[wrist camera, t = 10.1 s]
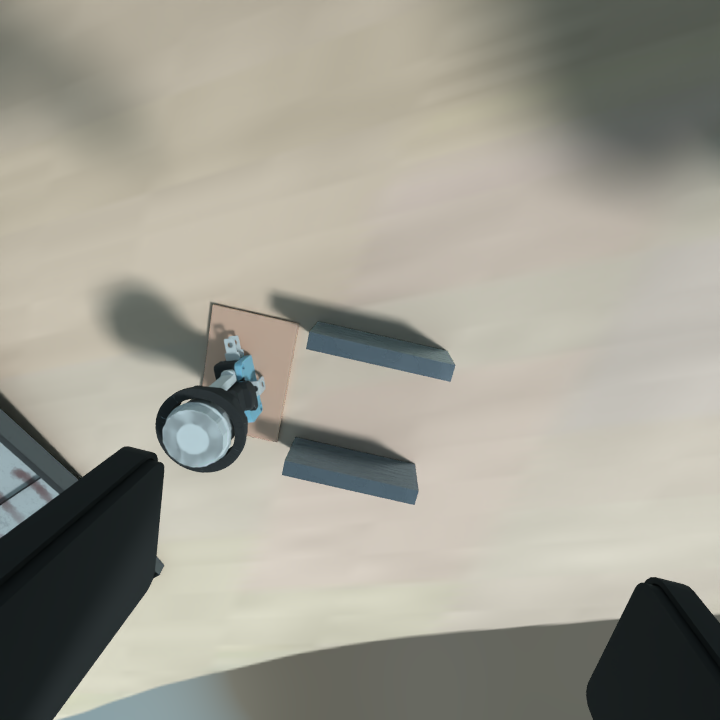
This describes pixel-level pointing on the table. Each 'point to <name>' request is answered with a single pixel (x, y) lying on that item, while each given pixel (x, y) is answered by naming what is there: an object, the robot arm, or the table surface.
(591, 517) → the table surface
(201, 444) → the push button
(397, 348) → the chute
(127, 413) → the table surface
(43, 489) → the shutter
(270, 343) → the mat
